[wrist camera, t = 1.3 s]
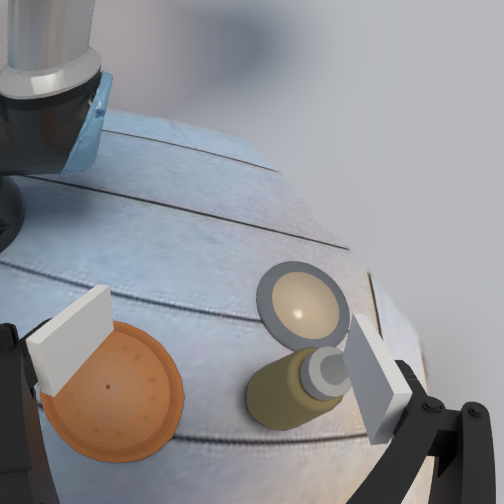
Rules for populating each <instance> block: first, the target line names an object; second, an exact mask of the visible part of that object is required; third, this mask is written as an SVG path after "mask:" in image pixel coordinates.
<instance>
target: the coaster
mask: <svg viewBox="0 0 504 504" xmlns="http://www.w3.org/2000/svg"><path fill="white" fill-rule="evenodd" d="M256 301H257V308H258V312H259V315H260V318H261V320H262V322H263V324H264V326H265V327H266V329H267V330H268V332H269V333H270V334H271V335H272V336H273V337H274V338H275V339H276V340H277V341H278V342H279V343H281V344H282V345H283V346H285V347H287V348H289V349H290V350H293V351H295V352H296V351H298V350H300V349H302V348H308V347H317V348H321V347H326V346H330V347H336V346H337V345H338V344H339V343H340V342H341V341H342V340H343V339H344V337H345V335H346V333H347V331H348V327H349V321H350V314H349V308H348V304H347V301H346V299H345V296H344V294H343V292H342V291H341V289H340V288H339V286H338V285H337V284H336V283H335V281H334V280H333V279H332V278H331V277H330V276H328V275H327V274H326V273H325V272H323V271H322V270H320V269H318V268H317V267H314V266H312V265H310V264H307V263H303V262H296V261H289V262H283V263H280V264H278V265H275V266H274V267H272V268H271V269H270V270H269V271H268V272H267V273H266V274H265V275H264V277H263V278H262V280H261V282H260V283H259V286H258V289H257V299H256Z"/></svg>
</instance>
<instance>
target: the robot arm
mask: <svg viewBox="0 0 504 504" xmlns="http://www.w3.org/2000/svg"><path fill="white" fill-rule="evenodd" d="M94 5H95V0H8V14H7V15H8V16H7V53H8V61H7V63H6V64H5V66H4V67H3V68H2V70H1V71H0V252H1V251H2V250H3V249H5V248H6V247H7V246H8V245H9V244H10V243H11V242H12V240H13V239H14V238H15V237H16V235H17V234H18V232H19V230H20V228H21V226H22V223H23V220H24V215H25V207H24V202H23V199H22V195H21V192H20V190H19V188H18V186H17V185H16V184H15V183H14V181H13V180H12V178H11V177H10V176H11V175H32V174H64V173H66V172H76V171H84V170H87V169H88V168H90V167H91V166H92V165H93V164H94V162H95V160H96V156H97V152H98V147H99V142H100V137H101V131H102V126H103V121H104V115H105V111H106V106H107V102H108V98H109V94H110V89H111V85H112V80H113V76H112V74H110V73H107V72H105V71H102V72H100V69H101V57H100V55H99V54H98V53H97V52H96V51H95V50H94V49H93V48H91V47H90V46H89V39H90V31H91V24H92V17H93V11H94ZM113 330H114V328H113V318H112V308H111V297H110V286H107V285H101V284H98V285H96V286H95V287H94V288H92V289H91V290H89V291H88V292H87V293H85V294H84V295H83V296H81V297H80V298H79V299H77V300H76V301H75V302H73V303H72V304H71V305H69V306H68V307H67V308H65V309H64V310H63V311H61V312H60V313H59V314H57V315H56V316H55V317H54V318H50V319H48V320H45V321H43V322H42V323H41V324H39V325H38V327H35V328H34V329H33V331H30V332H29V333H28V334H26V335H25V336H24V337H23V338H21V339H20V340H19V337H18V333H17V329H16V326H15V325H13V324H10V323H3V324H0V504H60V502H59V499H58V496H57V493H56V489H55V486H54V483H53V479H52V475H51V472H50V468H49V464H48V460H47V455H46V451H45V446H44V441H43V436H42V431H41V426H40V420H39V413H38V407H37V399H36V392H35V389H34V385H35V384H36V383H37V382H38V383H39V386H40V389H41V392H43V393H45V394H48V395H50V396H53V397H55V396H56V395H57V393H58V392H59V391H60V390H61V389H62V387H63V386H64V385H65V384H66V383H67V382H68V381H69V379H70V378H71V377H72V376H73V375H74V374H75V372H76V371H77V370H78V369H79V368H80V367H81V366H82V364H83V363H84V362H85V361H86V360H87V359H88V358H89V356H90V355H91V354H92V353H93V352H94V351H95V350H96V349H97V348H98V346H99V345H100V344H101V343H102V342H103V341H104V340H105V339H106V338H107V336H108V335H109V334H110V333H111V332H112V331H113ZM342 358H343V361H344V364H345V367H346V370H347V372H348V375H349V378H350V381H351V384H352V387H353V390H354V394H355V397H356V400H357V403H358V406H359V409H360V412H361V415H362V418H363V422H364V425H365V428H366V431H367V434H368V438H369V441H370V444H371V445H375V444H387V443H388V442H389V440H390V438H391V436H392V435H393V434H394V439H393V440H392V442H391V443H390V445H389V447H388V448H387V449H386V451H385V452H384V454H383V455H382V457H381V458H380V460H379V461H378V463H377V464H376V465H375V467H374V468H373V469H372V471H371V472H370V474H369V475H368V476H367V478H366V479H365V480H364V481H363V483H362V484H361V485H360V487H359V488H358V489H357V490H356V492H355V493H354V494H353V495H352V497H351V498H350V499H349V500H348V501H347V503H346V504H401V502H402V500H403V499H404V497H405V495H406V494H407V492H408V490H409V488H410V486H411V485H412V483H413V481H414V479H415V477H416V475H417V474H418V472H419V470H420V468H421V466H422V464H423V462H424V460H425V458H426V456H435V461H434V469H433V476H432V483H431V489H430V495H429V501H428V504H496V483H495V461H494V451H493V450H494V449H493V439H492V431H491V423H490V416H489V412H488V410H487V409H486V408H485V406H483V405H482V404H480V403H477V402H467V403H465V404H464V405H463V407H462V408H461V410H460V411H456V410H448V409H446V408H445V406H444V404H443V403H442V402H441V401H440V400H438V399H436V398H434V397H430V396H428V395H427V394H426V392H425V390H424V389H423V387H422V385H421V384H420V382H419V380H417V377H416V376H415V374H414V372H413V371H412V369H411V367H410V366H409V365H408V364H406V363H405V362H404V361H403V360H394V359H393V357H392V356H391V354H390V352H389V350H388V349H387V347H386V345H385V344H384V342H383V340H382V339H381V337H380V335H379V334H378V332H377V330H376V329H375V327H374V325H373V324H372V322H371V320H370V319H369V317H368V315H367V314H355V313H353V317H352V321H351V325H350V329H349V333H348V338H347V342H346V345H345V349H344V353H343V357H342Z"/></svg>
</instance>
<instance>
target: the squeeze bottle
mask: <svg viewBox="0 0 504 504" xmlns="http://www.w3.org/2000/svg"><path fill="white" fill-rule="evenodd" d="M343 353H344V352H342V351H341V350H339V349H338V348H335V347H330V346H326V347H321V348H317V347H308V348H302V349H300V350H298V351H296V352H294V353H292V354H290V355H287V356H285V357H283V358H281V359H279V360H277V361H275V362H273V363H271V364H269V365H266V366H265V367H263V368H262V369H260V370H259V371H257V372H256V373H255V374H254V376H253V377H252V379H251V380H250V382H249V384H248V390H247V397H246V403H247V407H248V411H249V412H250V414H251V415H252V416H253V418H254V419H255V420H257V421H258V422H259V423H261V424H263V425H265V426H266V427H268V428H270V429H274V430H281V431H285V430H289V429H292V428H295V427H298V426H300V425H302V424H304V423H306V422H308V421H310V420H312V419H314V418H316V417H318V416H320V415H322V414H324V413H326V412H328V411H330V410H332V409H333V408H334V407H335V406H336V405H338V404H339V403H340V402H341V400H342V398H343V395H344V394H345V393H346V392H347V391H348V390H349V389H350V388H351V386H352V384H351V381H350V378H349V375H348V372H347V370H346V367H345V364H344V361H343V358H342V357H343Z"/></svg>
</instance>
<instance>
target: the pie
mask: <svg viewBox="0 0 504 504" xmlns="http://www.w3.org/2000/svg"><path fill="white" fill-rule="evenodd" d="M113 328H114V330H113V331H112V332H111V333H110V334H109V335H108V336H107V338H106V339H105V340H104V341H103V342H102V343H101V344H100V345H99V346H98V348H97V349H96V350H95V351H94V352H93V353H92V354H91V355H90V356H89V358H88V359H87V360H86V361H85V362H84V363H83V364H82V366H81V367H80V368H79V369H78V370H77V371H76V372H75V374H74V375H73V376H72V377H71V378H70V379H69V381H68V382H67V383H66V384H65V385H64V386H63V387H62V389H61V390H60V391H59V392H58V393H57V395H56V396H55V397H53V396H50V395H48V394H45V393H43V392H41V389H40V397H41V401H42V404H43V407H44V411H45V414H46V417H47V419H48V420H49V422H50V423H51V425H52V426H53V428H54V429H55V430H56V432H57V433H58V435H59V436H60V437H61V438H62V439H63V440H64V441H65V442H66V443H67V444H68V445H69V446H70V447H71V448H73V449H74V450H75V451H76V452H78V453H80V454H83V455H85V456H87V457H90V458H92V459H94V460H97V461H105V462H114V463H122V462H131V461H139V460H142V459H144V458H146V457H148V456H150V455H151V454H153V453H155V452H157V451H159V450H160V449H161V448H162V447H163V446H164V445H165V444H166V443H167V442H168V441H169V440H170V439H171V438H172V437H173V435H174V432H175V430H176V427H177V425H178V422H179V420H180V417H181V413H182V408H183V403H184V392H183V386H182V380H181V376H180V374H179V372H178V370H177V368H176V365H175V363H174V361H173V359H172V358H171V357H170V355H169V354H168V353H167V351H166V350H165V349H164V347H163V346H162V345H161V343H159V342H158V341H156V340H155V339H154V338H152V337H151V336H150V335H148V334H147V333H146V332H144V331H142V330H140V329H138V328H135V327H133V326H131V325H129V324H127V323H122V322H117V321H113Z"/></svg>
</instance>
